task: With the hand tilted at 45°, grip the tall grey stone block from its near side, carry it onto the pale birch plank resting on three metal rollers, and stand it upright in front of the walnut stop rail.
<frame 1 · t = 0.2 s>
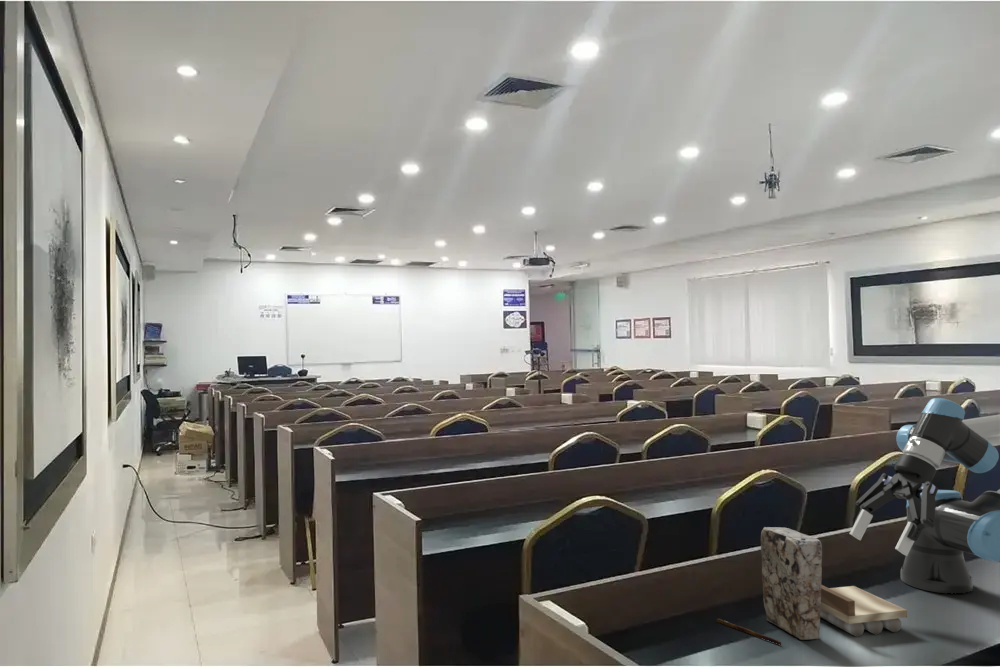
hand: (876, 544, 149), 15 cm above the table, tool tilted 35°, fingers open, 13 cm apart
dark brown thin bar: (748, 635, 140), on the table
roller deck: (852, 621, 145), on the table
stone block: (790, 629, 142), on the table
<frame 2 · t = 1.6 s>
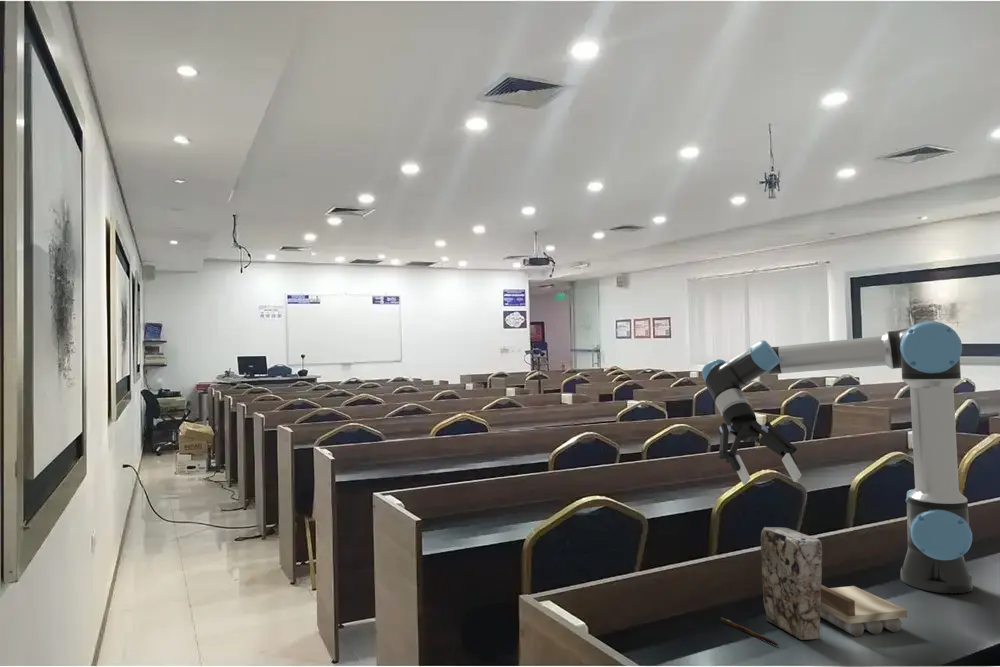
hand: (772, 480, 159), 28 cm above the table, tool tilted 45°, fingers open, 13 cm apart
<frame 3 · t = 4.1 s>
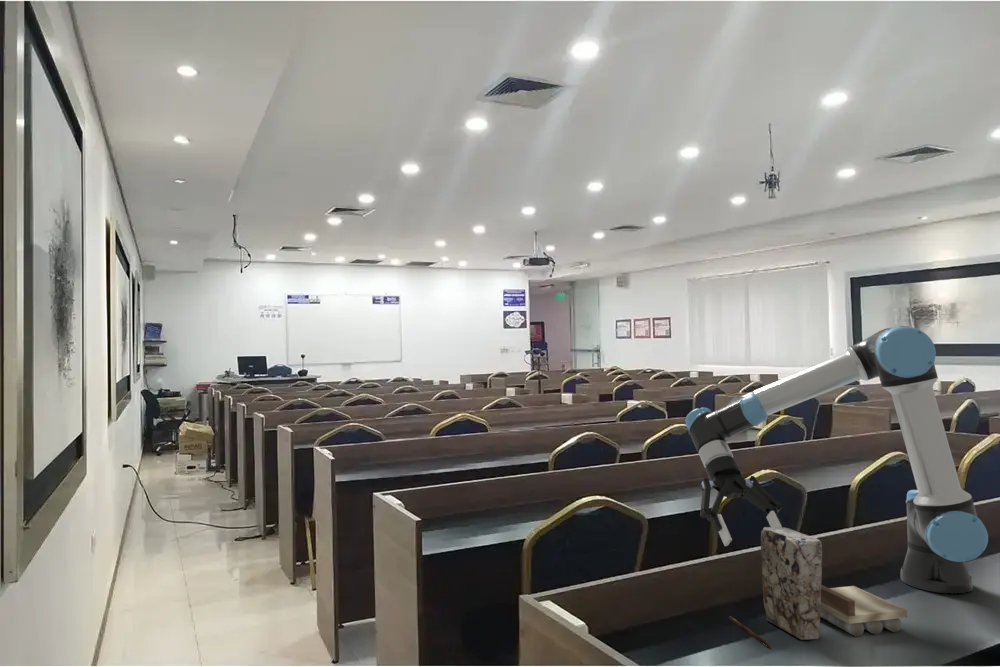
hand: (755, 541, 152), 15 cm above the table, tool tilted 45°, fingers open, 13 cm apart
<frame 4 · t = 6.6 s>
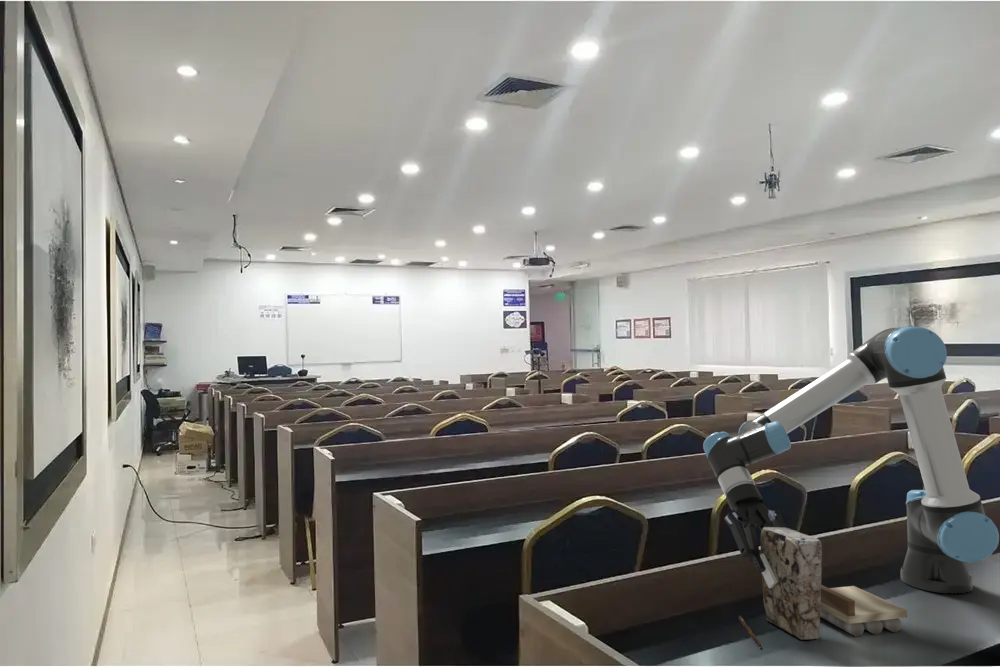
hand: (785, 583, 143), 9 cm above the table, tool tilted 45°, fingers closed on stone block, 5 cm apart
stone block: (790, 629, 142), on the table, touching gripper
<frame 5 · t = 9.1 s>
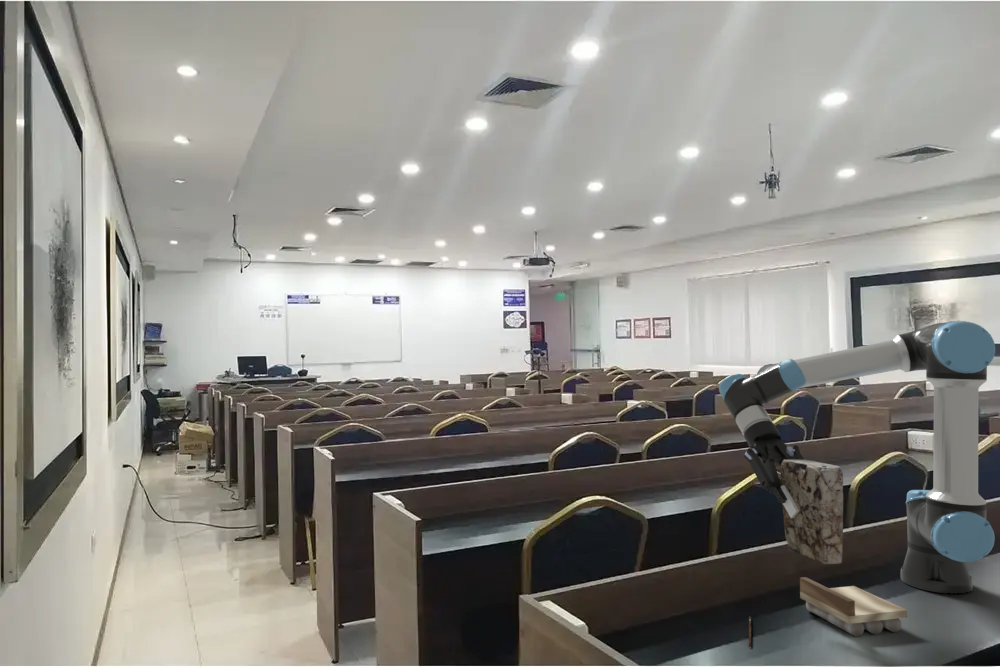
hand: (807, 513, 146), 23 cm above the table, tool tilted 45°, fingers closed on stone block, 5 cm apart
stone block: (812, 557, 144), point 14 cm above the table, touching gripper
when the fingers open (15 cm above the table, at t = 12.0 s): stone block drops 1 cm, resting on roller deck.
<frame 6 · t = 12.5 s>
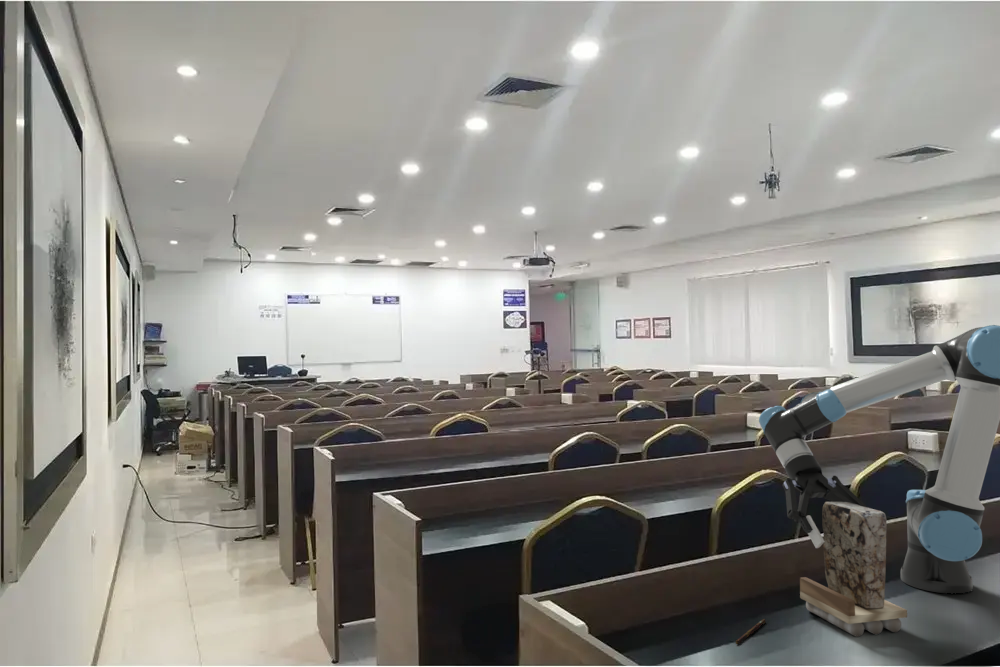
hand: (845, 543, 148), 16 cm above the table, tool tilted 45°, fingers open, 12 cm apart
stone block: (853, 599, 146), point 4 cm above the table, touching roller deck
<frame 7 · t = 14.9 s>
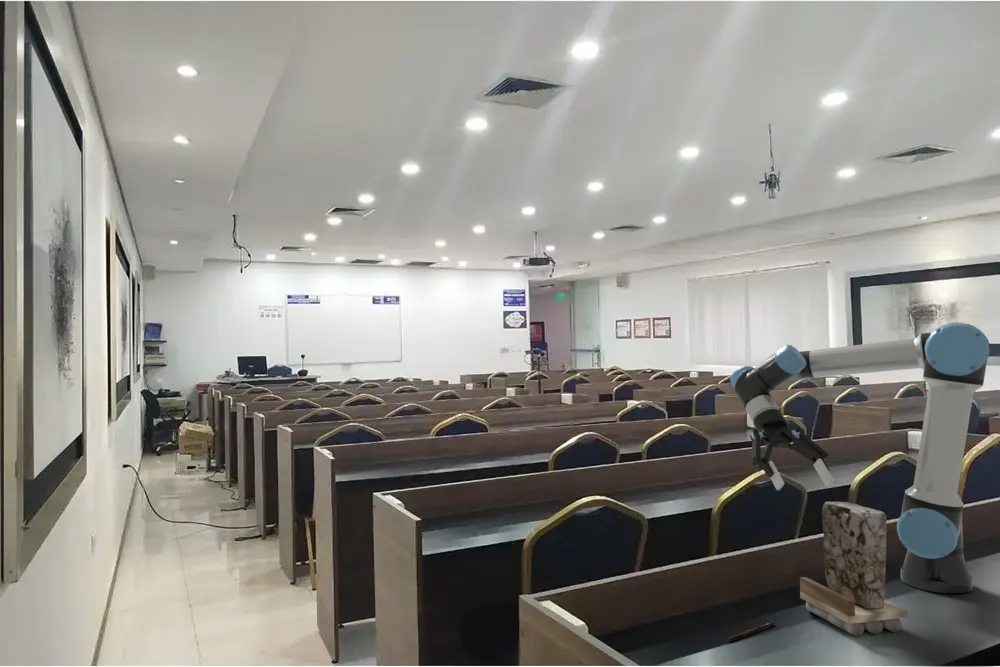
hand: (806, 485, 161), 26 cm above the table, tool tilted 45°, fingers open, 13 cm apart
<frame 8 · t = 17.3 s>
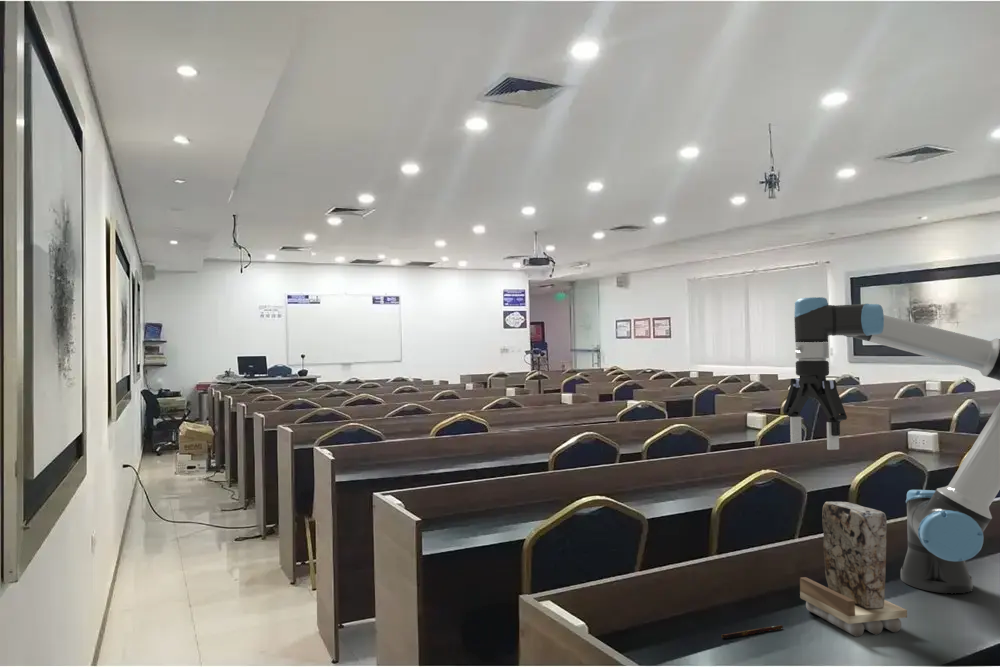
hand: (813, 445, 167), 35 cm above the table, tool pointing down, fingers open, 13 cm apart
at the end: stone block inside the target area on the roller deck (1.1 cm from its centre), point 4.3 cm above the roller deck's base; stone block tilted 0°; the gripper is holding nothing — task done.
